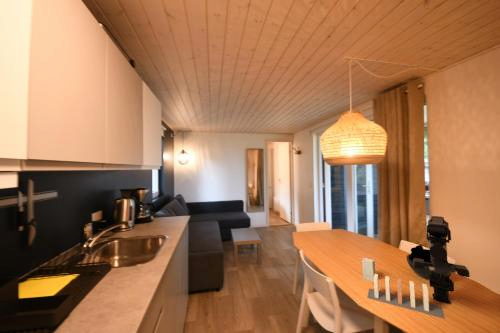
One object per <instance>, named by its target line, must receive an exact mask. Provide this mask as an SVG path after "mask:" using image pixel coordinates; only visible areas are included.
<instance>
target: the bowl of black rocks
mask: <svg viewBox="0 0 500 333" xmlns="http://www.w3.org/2000/svg"><path fill="white" fill-rule="evenodd" d="M410 252H411V253H410V254H408V255H406V262H407V264H408V265H409V267H410V268H411V270H412V271H413V272H414V273H416V274H417V275H419V276H420V277H422V278H425V279H429V274H431V272H430V270H429V267H426V266H425V268H424V269H419V268H415V267H414V262H413V259H414V258H419V259H423V260H424V262H428V263H431V254H430V252H429V249H427V248H426V249H425V248H424V247H423V244H418V245H416V246H413V247H411V249H410Z"/></svg>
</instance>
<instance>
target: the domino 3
mask: <svg viewBox="0 0 500 333" xmlns="http://www.w3.org/2000/svg"><path fill="white" fill-rule="evenodd" d="M396 287H397V295H398V303H399V304H402V297H403V293H402V290H403V289H402V279H401V278H399V277H397V278H396Z"/></svg>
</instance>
